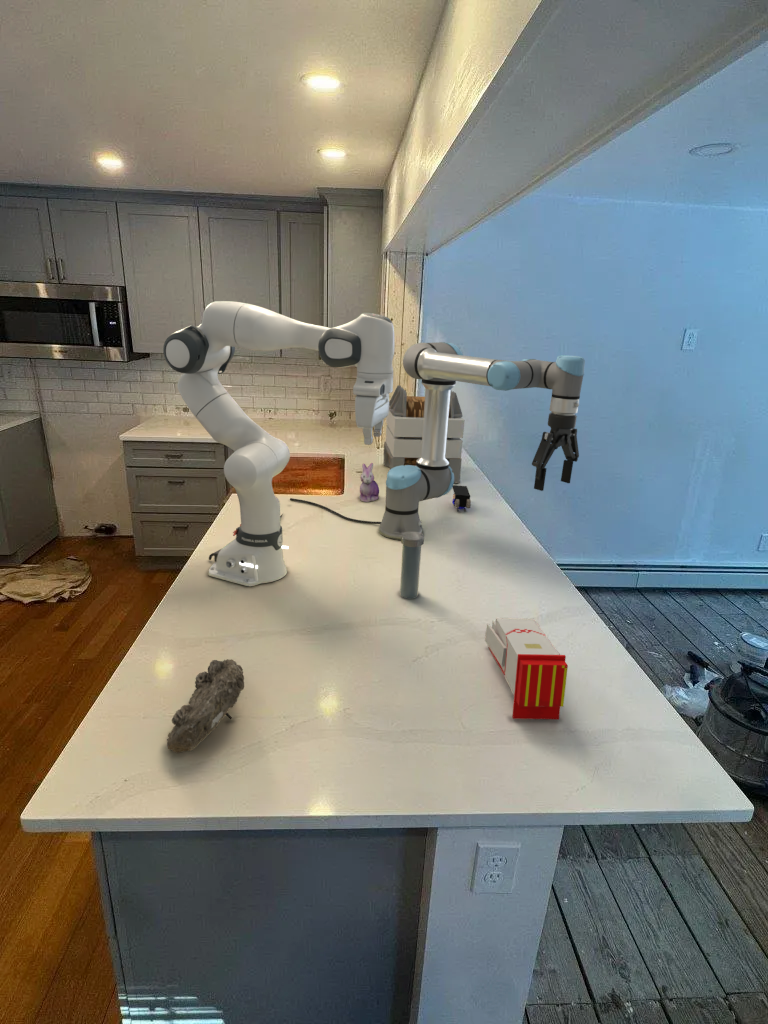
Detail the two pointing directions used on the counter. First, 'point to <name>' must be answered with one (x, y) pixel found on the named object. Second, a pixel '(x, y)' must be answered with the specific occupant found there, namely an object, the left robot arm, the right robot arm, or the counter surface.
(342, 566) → the counter surface
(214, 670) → the fossil
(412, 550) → the jar
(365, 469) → the figurine
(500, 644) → the toy
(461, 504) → the figurine character
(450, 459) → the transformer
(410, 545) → the lid
